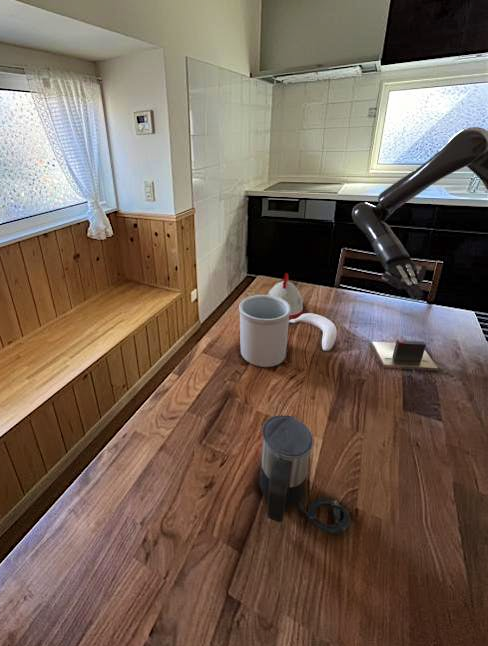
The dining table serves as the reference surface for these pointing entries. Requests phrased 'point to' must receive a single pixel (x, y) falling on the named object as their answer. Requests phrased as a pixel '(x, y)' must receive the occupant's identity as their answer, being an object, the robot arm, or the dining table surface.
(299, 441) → the milk frother
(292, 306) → the kitchen timer
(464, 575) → the dining table surface
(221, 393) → the dining table surface
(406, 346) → the dark grey rectangular block
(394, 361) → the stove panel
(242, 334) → the utensil holder
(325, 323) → the banana
